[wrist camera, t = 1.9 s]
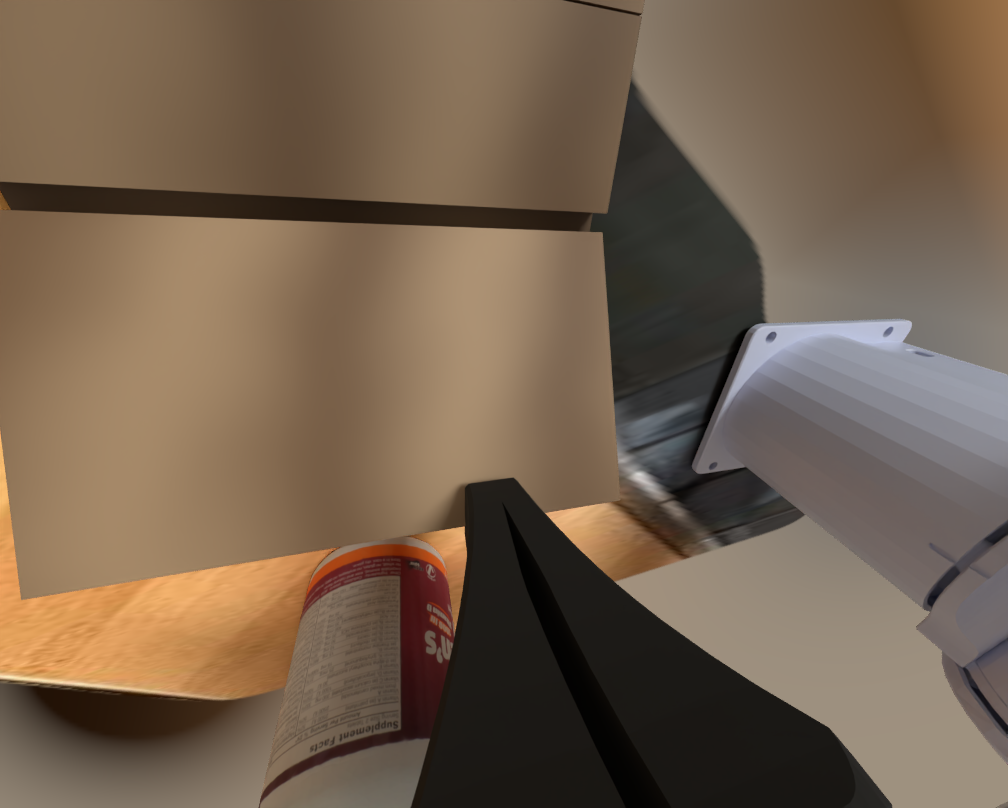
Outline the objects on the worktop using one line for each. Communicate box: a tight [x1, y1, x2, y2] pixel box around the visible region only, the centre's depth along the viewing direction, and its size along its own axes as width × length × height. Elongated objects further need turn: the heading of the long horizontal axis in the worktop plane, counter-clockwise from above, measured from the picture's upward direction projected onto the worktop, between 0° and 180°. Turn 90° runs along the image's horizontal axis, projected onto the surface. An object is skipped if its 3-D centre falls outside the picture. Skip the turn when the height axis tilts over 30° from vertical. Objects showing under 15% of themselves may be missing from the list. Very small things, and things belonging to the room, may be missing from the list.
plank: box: [0, 210, 620, 600], centre depth 10 cm, size 14×8×1 cm
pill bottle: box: [259, 536, 455, 808], centre depth 13 cm, size 6×6×11 cm
